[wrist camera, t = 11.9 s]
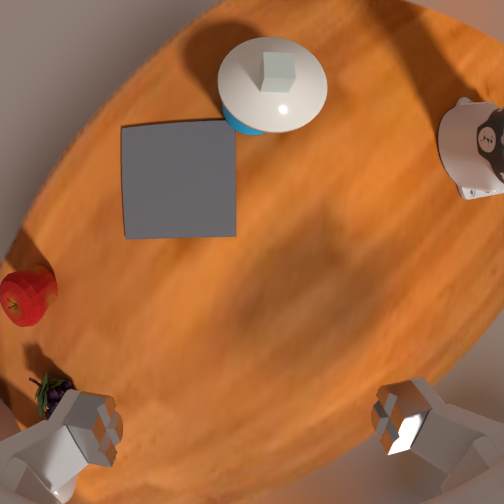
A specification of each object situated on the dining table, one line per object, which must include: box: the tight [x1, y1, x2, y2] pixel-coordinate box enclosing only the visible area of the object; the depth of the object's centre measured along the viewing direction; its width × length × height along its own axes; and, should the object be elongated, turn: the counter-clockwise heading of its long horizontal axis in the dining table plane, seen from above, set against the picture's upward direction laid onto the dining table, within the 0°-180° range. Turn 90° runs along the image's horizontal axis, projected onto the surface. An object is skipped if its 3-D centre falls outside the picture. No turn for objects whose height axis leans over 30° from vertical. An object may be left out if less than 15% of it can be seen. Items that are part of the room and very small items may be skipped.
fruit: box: [29, 372, 74, 420], centre depth 44 cm, size 10×11×15 cm
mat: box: [122, 120, 236, 239], centre depth 39 cm, size 16×16×1 cm
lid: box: [218, 37, 327, 133], centre depth 27 cm, size 12×12×5 cm
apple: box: [0, 265, 57, 327], centre depth 36 cm, size 9×8×12 cm
